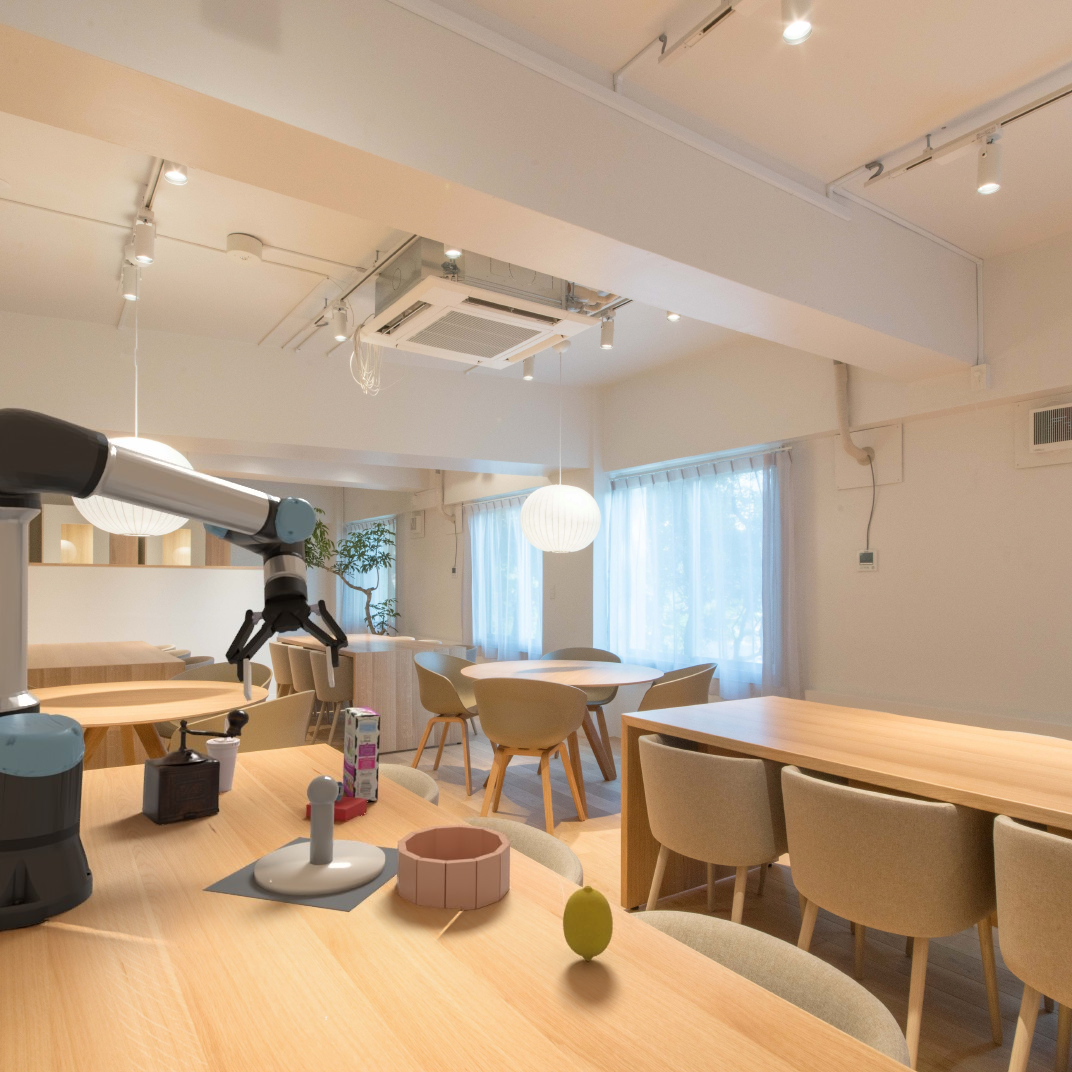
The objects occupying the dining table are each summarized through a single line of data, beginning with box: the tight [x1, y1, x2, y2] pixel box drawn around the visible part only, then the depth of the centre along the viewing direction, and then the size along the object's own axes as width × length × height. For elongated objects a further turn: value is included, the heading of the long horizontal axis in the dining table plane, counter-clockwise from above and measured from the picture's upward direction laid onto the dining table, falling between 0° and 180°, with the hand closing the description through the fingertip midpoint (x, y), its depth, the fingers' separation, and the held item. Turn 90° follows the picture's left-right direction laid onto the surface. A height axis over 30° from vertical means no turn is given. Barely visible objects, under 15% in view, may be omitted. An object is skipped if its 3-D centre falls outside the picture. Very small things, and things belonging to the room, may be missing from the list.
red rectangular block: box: [305, 781, 368, 823], centre depth 135 cm, size 8×7×6 cm
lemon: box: [562, 885, 614, 962], centre depth 84 cm, size 6×6×8 cm
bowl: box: [396, 824, 511, 912], centre depth 104 cm, size 15×15×6 cm
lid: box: [254, 774, 385, 895], centre depth 109 cm, size 18×18×13 cm
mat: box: [202, 836, 398, 913], centre depth 108 cm, size 22×22×1 cm
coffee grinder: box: [141, 709, 250, 826], centre depth 138 cm, size 16×11×18 cm
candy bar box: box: [342, 706, 381, 803], centre depth 148 cm, size 11×5×16 cm, turn 25°
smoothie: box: [205, 718, 241, 793], centre depth 151 cm, size 6×6×14 cm
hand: (290, 690), depth 127 cm, fingers open, 13 cm apart
